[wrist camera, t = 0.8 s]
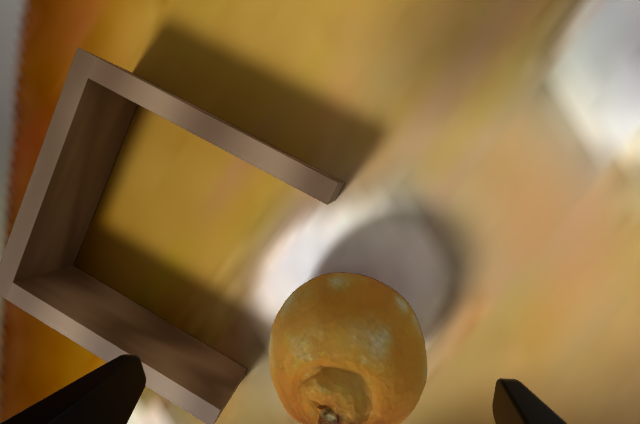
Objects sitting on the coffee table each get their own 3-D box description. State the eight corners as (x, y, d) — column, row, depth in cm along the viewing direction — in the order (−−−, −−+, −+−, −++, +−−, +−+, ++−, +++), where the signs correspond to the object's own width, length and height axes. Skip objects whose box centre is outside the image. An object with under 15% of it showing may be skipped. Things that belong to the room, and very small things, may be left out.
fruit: (292, 434, 19) (340, 530, 12) (238, 309, 20) (251, 324, 12) (397, 361, 22) (490, 400, 15) (348, 253, 23) (412, 239, 15)
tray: (344, 183, 20) (338, 183, 16) (239, 383, 22) (212, 426, 18) (131, 72, 21) (77, 47, 17) (54, 271, 23) (-10, 289, 19)
